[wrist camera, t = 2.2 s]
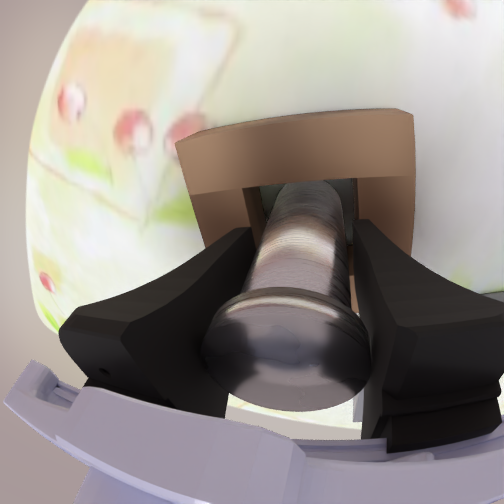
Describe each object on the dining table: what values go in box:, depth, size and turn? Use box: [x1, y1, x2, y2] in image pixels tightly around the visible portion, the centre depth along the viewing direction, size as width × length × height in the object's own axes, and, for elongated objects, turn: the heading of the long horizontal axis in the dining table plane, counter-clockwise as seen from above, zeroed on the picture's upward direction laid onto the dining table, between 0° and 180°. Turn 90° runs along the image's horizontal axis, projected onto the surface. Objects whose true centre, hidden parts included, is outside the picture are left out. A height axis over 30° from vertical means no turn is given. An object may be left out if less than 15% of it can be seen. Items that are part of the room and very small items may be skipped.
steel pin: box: [200, 180, 371, 412], centre depth 10 cm, size 4×4×9 cm
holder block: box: [175, 109, 416, 313], centre depth 13 cm, size 9×9×2 cm
